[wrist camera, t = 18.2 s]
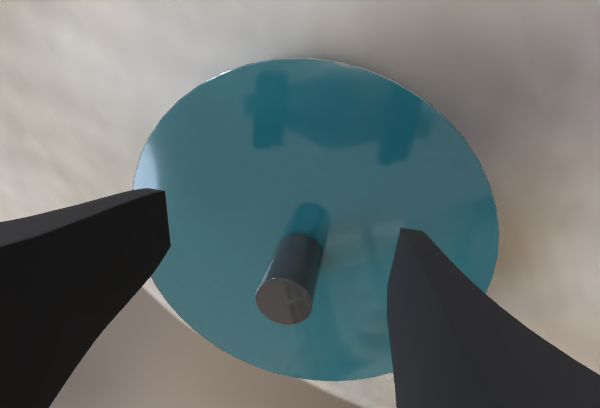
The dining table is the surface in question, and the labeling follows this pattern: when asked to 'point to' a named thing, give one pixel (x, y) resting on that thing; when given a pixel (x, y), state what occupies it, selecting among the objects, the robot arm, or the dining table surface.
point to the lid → (308, 210)
